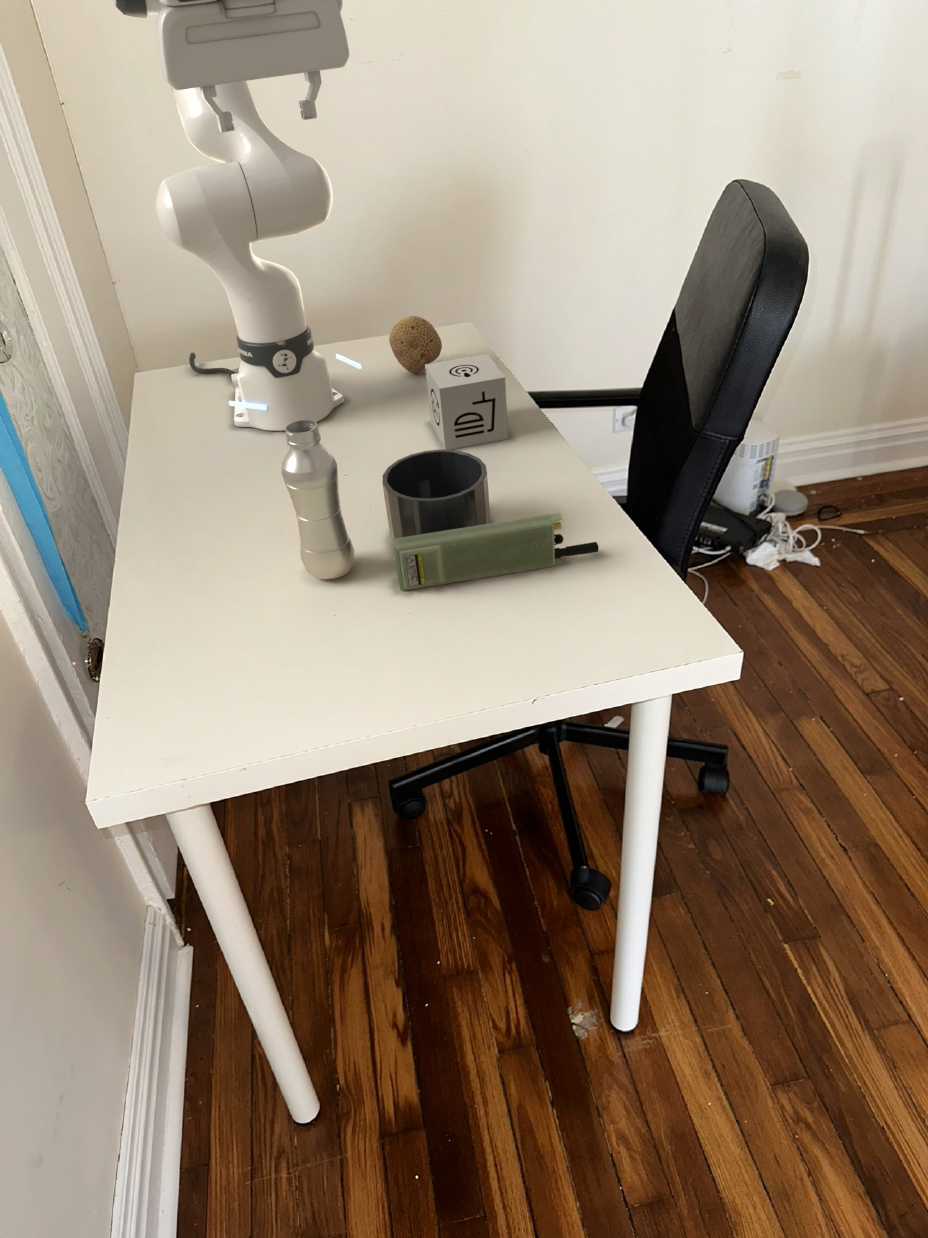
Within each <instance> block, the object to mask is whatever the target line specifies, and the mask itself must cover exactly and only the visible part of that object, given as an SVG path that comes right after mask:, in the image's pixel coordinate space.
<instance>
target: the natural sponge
mask: <svg viewBox="0 0 928 1238" xmlns="http://www.w3.org/2000/svg"><path fill="white" fill-rule="evenodd" d="M388 341H389V346H390V348H391V351H392V353H393V356H394V357H395V359H396V360H397V362H398V364H399V365H401V367H403V368H404V369H405V370H406V371H407V372H409V373H411V374H413V375H417V374H419V373H421V372H422V371H424V370H425V364H431V363H434V361H435V360H437V359H438V358H439V357H440V355H441V353H442V348H443V343H442V342H443V341H442V340H441V337H440V335H439V333H438V331H437V330H436V329H435V327H434V325H433V324H432V323H431V322H430V321H428V320H427V319H425V318H424V317H421V316H417V315H410V316H409V315H408V316H407V317H405V318H402V319H400V320H398V321H397V323H395V324H394V325H393V327H392V328H391V330H390V333H389V336H388Z"/></svg>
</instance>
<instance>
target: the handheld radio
mask: <svg viewBox="0 0 928 1238" xmlns="http://www.w3.org/2000/svg"><path fill="white" fill-rule="evenodd" d="M561 520H563V517H562V515H561V513H560V512H556V513H548V514H541V515H535V516H529V517H522V518H517V519H516V518H515V519H508V520H503V521H496V522H491V523H490V524H484V525H477V526H471V527H465V528H458V529H452V530H446V531H439V532H433V533H427V534H420V535H414V536H408V537H401V538H395V539H392V540H393V544H392V546H393V552H394V559H395V567H396V574H397V581H398V586H399V590H400V591H411V590H416V589H417V590H418V589H423V588H429V587H436V586H441V585H448V584H453V583H460V582H461V583H462V582H466V581H472V580H478V579H479V580H480V579H484V578H490V577H491V578H492V577H497V576H504V575H509V574H514V573H521V572H528V571H534V570H540V569H546V568H552V567H554V566H555V565H560V564H563V561H562V558H563V557H573V556H579V555H587V554H593V553H598V552H599V544H598V542H597V541H592V542H585V543H580V544H574V545H568V546H567V545H566V546H565V547H561V548H560V547H556V546H557V545H561V544H563V542H564V537H563V535H562V534H560V533H557V534H556V533H555V530H556V531H557V530H561V529H562V528H563V526H562V525H563V524H562V522H561Z"/></svg>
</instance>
